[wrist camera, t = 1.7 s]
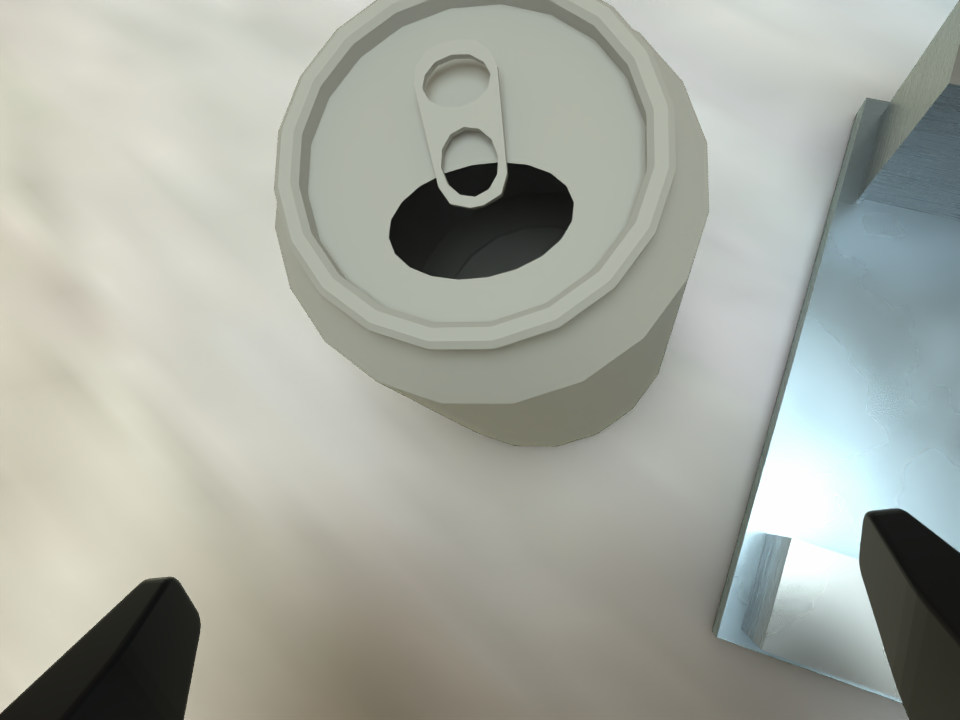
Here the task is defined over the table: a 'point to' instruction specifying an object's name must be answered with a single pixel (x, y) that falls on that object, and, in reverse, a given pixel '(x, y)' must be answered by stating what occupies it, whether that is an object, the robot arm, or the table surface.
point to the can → (494, 208)
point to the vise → (863, 389)
